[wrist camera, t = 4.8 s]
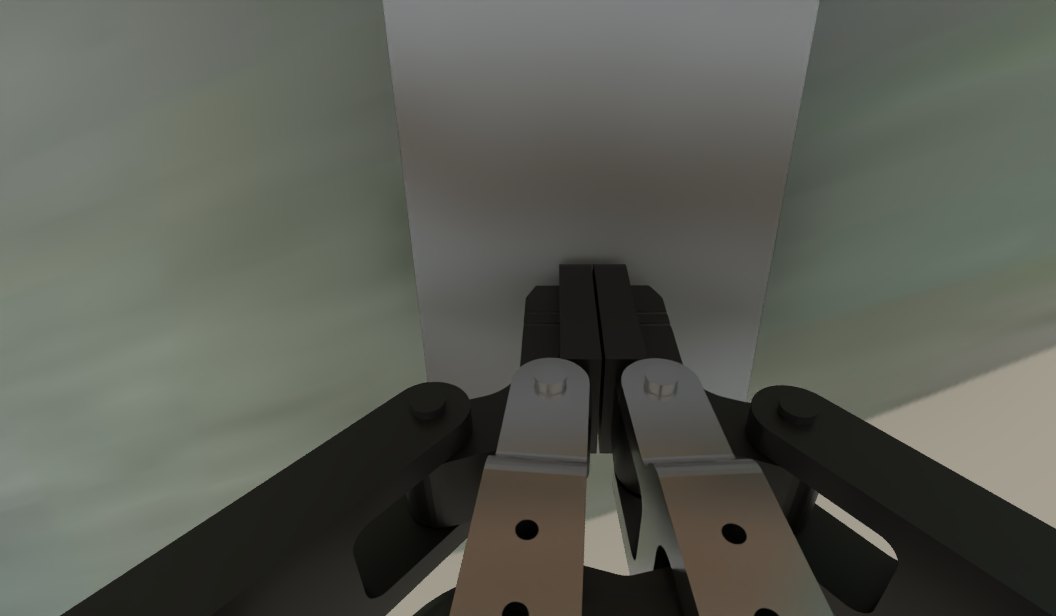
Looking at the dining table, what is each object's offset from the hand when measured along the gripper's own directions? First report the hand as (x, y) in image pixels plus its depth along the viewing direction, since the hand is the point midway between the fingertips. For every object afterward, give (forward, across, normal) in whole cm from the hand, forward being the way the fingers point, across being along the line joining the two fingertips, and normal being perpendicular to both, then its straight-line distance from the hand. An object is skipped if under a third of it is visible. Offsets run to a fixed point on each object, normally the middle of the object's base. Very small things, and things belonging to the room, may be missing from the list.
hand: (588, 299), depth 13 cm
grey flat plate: (+2, 0, -3) cm, 4 cm away
